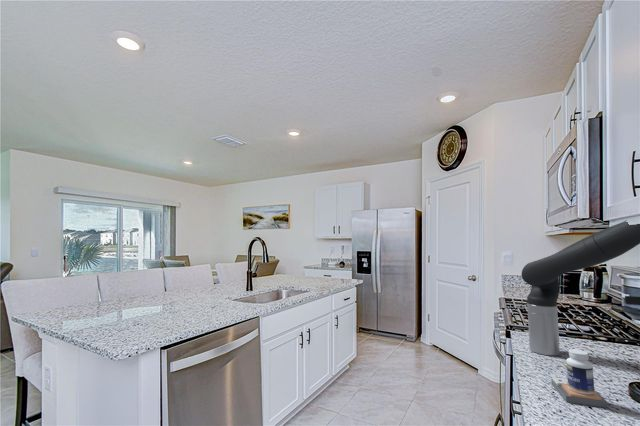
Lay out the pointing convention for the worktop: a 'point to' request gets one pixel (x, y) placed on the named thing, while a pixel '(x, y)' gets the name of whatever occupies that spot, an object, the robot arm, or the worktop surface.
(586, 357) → the pill bottle
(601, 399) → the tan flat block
